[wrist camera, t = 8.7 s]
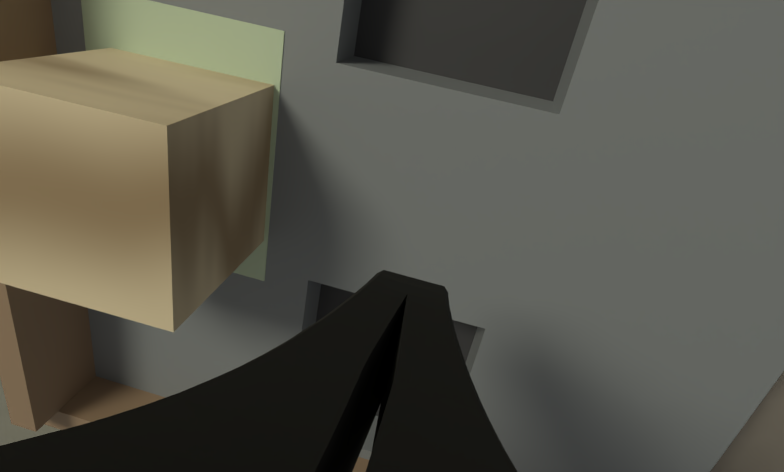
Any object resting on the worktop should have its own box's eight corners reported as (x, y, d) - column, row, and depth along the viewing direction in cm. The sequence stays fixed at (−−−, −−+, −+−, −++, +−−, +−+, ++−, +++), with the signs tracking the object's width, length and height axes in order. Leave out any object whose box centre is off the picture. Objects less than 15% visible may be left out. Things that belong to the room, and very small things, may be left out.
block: (263, 240, 16) (173, 332, 12) (123, 204, 17) (-15, 278, 12) (274, 85, 14) (167, 125, 9) (110, 47, 14) (-64, 69, 10)
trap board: (631, 514, 21) (666, 654, 16) (109, 357, 23) (15, 442, 19) (1123, -231, 10) (1636, -421, 5) (33, -395, 12) (-240, -622, 8)
